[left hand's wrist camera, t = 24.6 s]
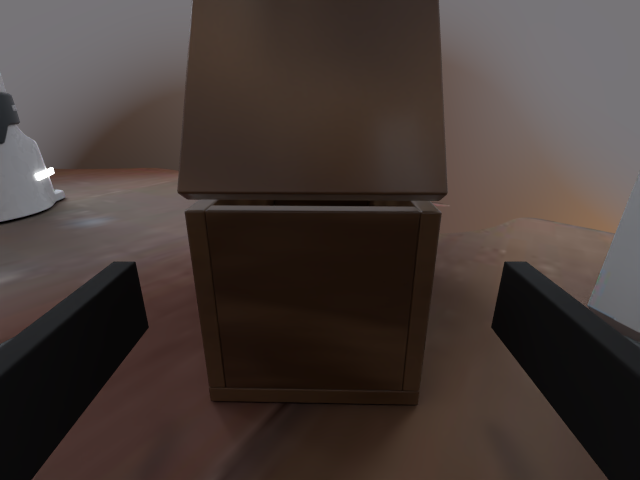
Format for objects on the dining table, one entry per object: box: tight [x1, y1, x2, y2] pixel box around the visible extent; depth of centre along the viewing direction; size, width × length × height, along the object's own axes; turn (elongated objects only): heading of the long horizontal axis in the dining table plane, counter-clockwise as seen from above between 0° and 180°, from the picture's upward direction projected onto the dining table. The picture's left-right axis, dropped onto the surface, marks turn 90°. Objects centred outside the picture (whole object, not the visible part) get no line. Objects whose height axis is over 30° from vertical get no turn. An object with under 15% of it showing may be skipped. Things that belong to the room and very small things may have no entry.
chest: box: [185, 200, 441, 405], centre depth 23 cm, size 18×10×9 cm, turn 179°
